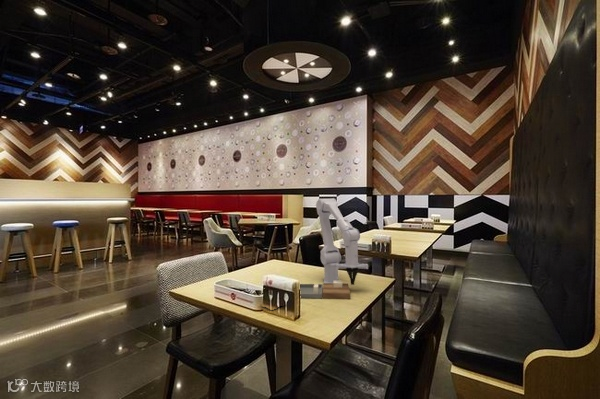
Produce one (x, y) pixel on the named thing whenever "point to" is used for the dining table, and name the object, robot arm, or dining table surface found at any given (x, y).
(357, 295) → the dining table surface
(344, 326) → the dining table surface
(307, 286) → the tray
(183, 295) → the dining table surface
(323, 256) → the robot arm
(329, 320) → the dining table surface
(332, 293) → the plate
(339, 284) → the tile
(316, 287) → the tile
